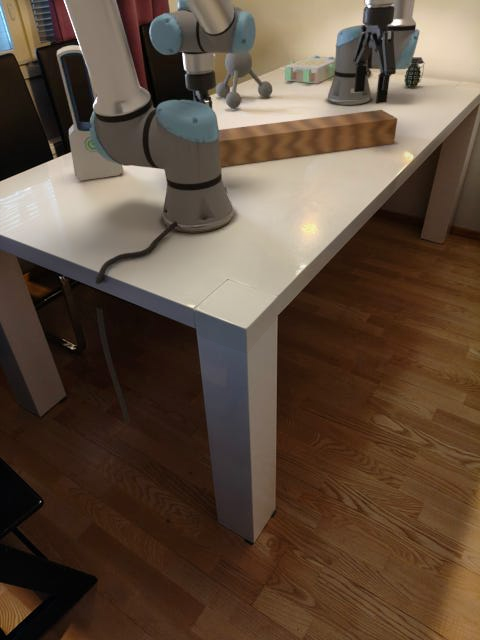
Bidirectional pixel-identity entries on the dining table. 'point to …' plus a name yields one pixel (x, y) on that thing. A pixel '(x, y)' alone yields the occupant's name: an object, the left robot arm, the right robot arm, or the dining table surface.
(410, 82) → the grenade
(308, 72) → the decorative block
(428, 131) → the dining table surface
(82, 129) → the electronic device
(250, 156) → the long wooden beam
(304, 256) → the dining table surface
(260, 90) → the molecular model
